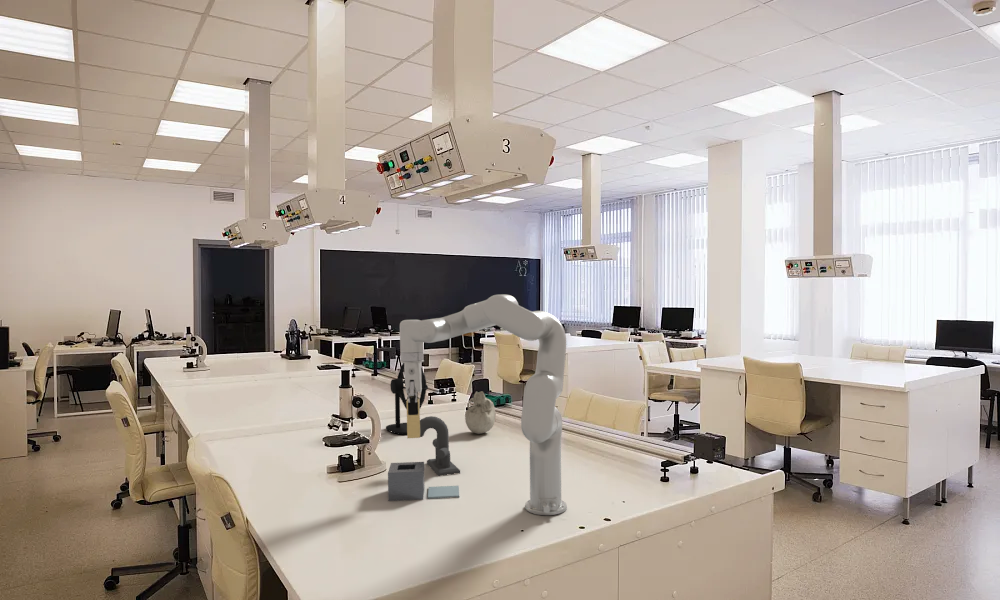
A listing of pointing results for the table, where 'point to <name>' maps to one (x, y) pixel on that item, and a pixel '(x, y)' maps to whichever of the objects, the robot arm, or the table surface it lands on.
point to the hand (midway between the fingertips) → (413, 412)
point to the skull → (480, 414)
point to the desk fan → (403, 400)
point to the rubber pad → (443, 492)
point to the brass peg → (413, 423)
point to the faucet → (439, 446)
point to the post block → (406, 481)
